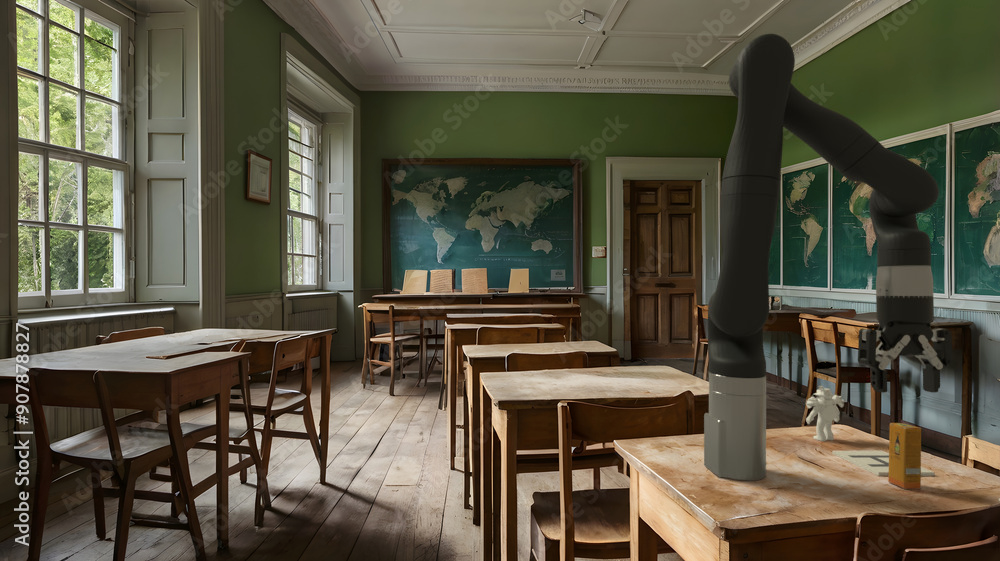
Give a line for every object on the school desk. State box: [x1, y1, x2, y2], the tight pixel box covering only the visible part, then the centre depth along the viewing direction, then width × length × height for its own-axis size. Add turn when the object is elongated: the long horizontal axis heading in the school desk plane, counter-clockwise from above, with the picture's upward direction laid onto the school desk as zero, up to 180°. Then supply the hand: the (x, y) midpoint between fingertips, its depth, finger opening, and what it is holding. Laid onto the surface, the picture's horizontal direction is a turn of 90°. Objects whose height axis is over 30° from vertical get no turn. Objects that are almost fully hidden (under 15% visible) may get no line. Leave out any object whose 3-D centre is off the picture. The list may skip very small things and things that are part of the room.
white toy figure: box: [805, 385, 845, 442], centre depth 112 cm, size 9×4×12 cm, turn 106°
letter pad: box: [832, 450, 936, 477], centre depth 96 cm, size 10×12×1 cm
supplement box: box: [887, 422, 922, 490], centre depth 86 cm, size 3×3×10 cm
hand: (905, 391), depth 86 cm, fingers open, 8 cm apart
